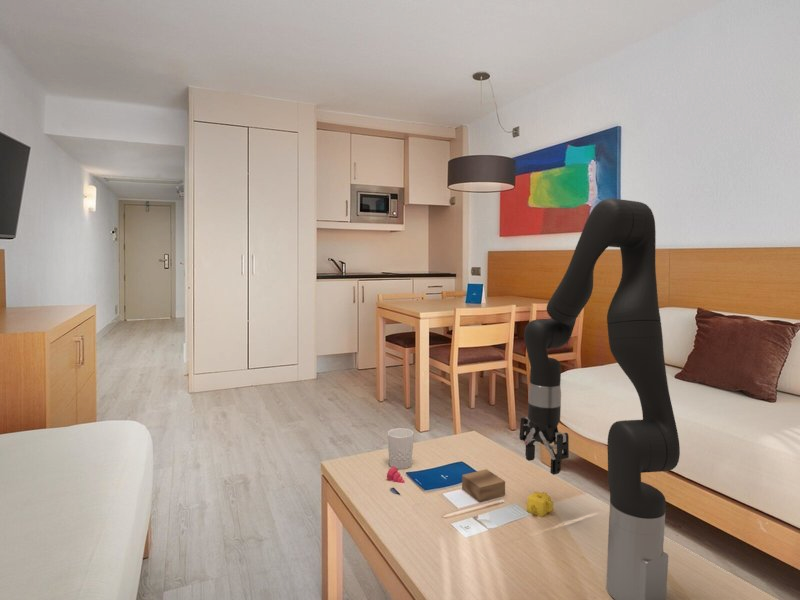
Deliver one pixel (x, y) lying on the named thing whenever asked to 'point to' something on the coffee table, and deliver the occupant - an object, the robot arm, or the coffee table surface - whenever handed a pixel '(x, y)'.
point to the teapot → (539, 504)
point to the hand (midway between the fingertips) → (542, 466)
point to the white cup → (400, 447)
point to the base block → (483, 485)
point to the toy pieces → (394, 478)
